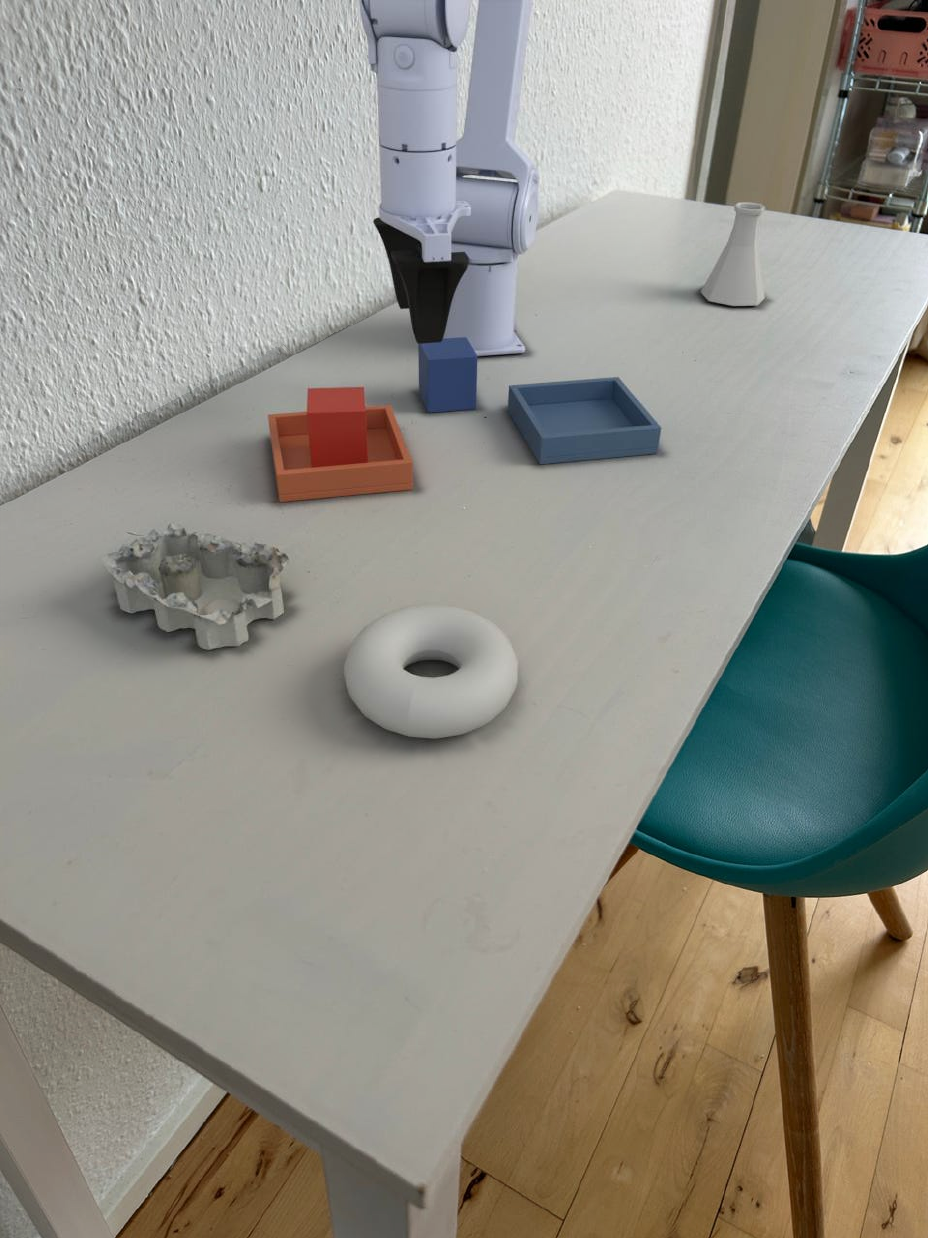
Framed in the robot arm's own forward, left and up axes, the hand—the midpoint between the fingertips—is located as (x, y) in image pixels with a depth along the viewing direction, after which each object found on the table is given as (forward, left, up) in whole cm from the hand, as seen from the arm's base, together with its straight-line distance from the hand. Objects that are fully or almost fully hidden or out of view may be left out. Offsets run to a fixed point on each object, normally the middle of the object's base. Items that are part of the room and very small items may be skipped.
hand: (419, 323), depth 79 cm
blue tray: (+5, +13, -8) cm, 16 cm away
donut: (+35, -6, -9) cm, 37 cm away
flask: (-24, +41, -9) cm, 48 cm away
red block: (+7, -8, -8) cm, 13 cm away
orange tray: (+7, -8, -8) cm, 14 cm away
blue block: (-3, +3, -8) cm, 9 cm away
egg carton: (+24, -19, -9) cm, 32 cm away
